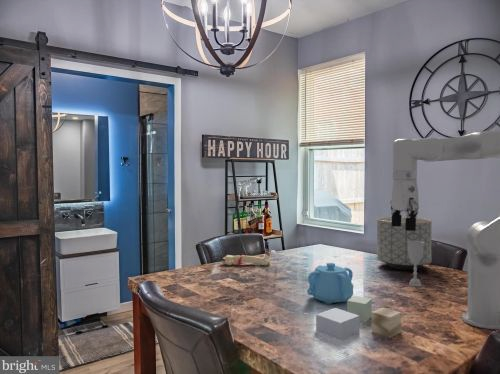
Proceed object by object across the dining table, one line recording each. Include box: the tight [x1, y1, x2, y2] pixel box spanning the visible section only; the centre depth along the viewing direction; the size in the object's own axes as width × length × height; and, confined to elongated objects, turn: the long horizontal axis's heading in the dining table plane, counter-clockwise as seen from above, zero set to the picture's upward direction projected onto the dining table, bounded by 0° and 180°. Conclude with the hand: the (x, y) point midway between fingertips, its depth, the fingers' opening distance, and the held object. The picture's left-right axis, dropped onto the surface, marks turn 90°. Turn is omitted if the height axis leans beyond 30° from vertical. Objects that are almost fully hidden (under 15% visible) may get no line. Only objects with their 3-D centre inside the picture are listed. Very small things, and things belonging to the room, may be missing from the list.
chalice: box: [407, 241, 424, 287], centre depth 166 cm, size 7×7×18 cm
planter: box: [376, 216, 432, 271], centre depth 197 cm, size 25×25×24 cm
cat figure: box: [220, 250, 271, 267], centre depth 205 cm, size 10×9×25 cm
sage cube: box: [346, 295, 373, 323], centre depth 129 cm, size 6×6×6 cm
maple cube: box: [371, 307, 402, 339], centre depth 117 cm, size 6×6×6 cm
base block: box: [315, 307, 360, 340], centre depth 119 cm, size 9×9×5 cm
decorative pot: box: [306, 262, 354, 305], centre depth 148 cm, size 16×16×14 cm
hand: (403, 228), depth 131 cm, fingers open, 9 cm apart
